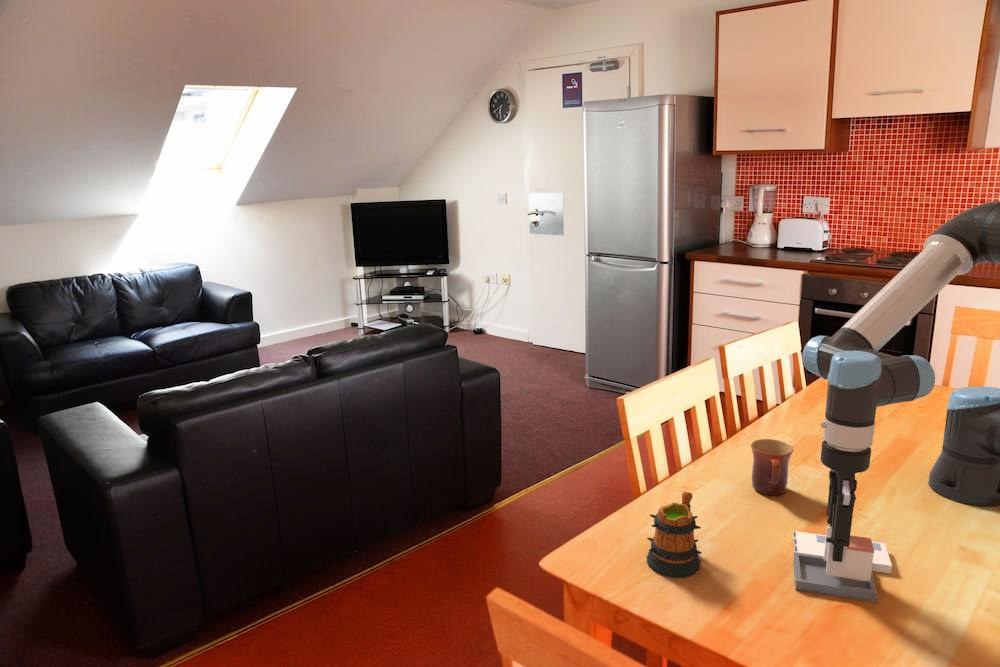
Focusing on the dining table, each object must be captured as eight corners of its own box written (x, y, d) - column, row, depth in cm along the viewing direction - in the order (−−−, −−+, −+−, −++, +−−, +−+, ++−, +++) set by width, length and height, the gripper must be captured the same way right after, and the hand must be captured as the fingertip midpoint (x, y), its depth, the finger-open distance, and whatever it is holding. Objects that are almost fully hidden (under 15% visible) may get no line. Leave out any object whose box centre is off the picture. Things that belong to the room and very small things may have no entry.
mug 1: (691, 585, 131) (694, 525, 128) (636, 569, 136) (638, 511, 133) (712, 550, 142) (716, 495, 139) (661, 537, 147) (663, 483, 144)
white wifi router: (884, 550, 140) (885, 542, 140) (890, 573, 133) (892, 565, 132) (793, 538, 145) (793, 530, 145) (794, 559, 138) (795, 551, 137)
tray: (868, 571, 134) (869, 562, 133) (876, 602, 125) (877, 593, 124) (793, 560, 138) (793, 552, 137) (795, 590, 129) (796, 580, 128)
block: (866, 568, 131) (870, 538, 129) (870, 581, 127) (874, 549, 125) (829, 563, 132) (833, 532, 131) (831, 575, 129) (835, 544, 127)
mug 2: (745, 479, 170) (748, 437, 168) (786, 482, 169) (789, 440, 166) (752, 504, 159) (755, 459, 156) (795, 507, 157) (799, 462, 155)
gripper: (818, 423, 134) (807, 540, 139) (826, 461, 118) (813, 591, 124) (864, 427, 131) (851, 546, 137) (879, 466, 116) (863, 599, 121)
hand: (833, 567), depth 130 cm, fingers closed on block, 4 cm apart
